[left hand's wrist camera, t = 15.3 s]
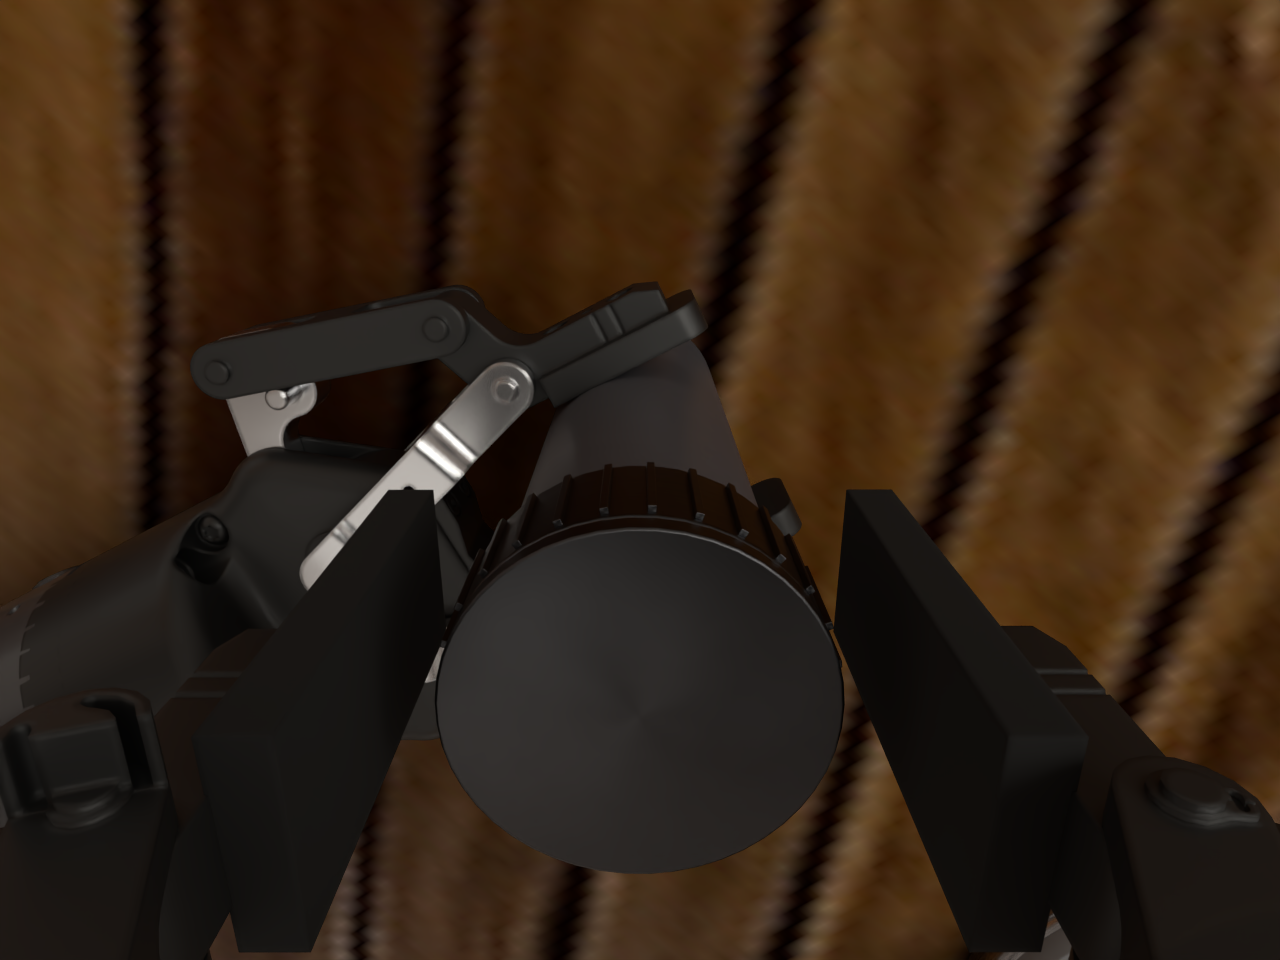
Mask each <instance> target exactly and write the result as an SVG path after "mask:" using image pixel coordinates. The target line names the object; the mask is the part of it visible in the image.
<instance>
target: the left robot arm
mask: <svg viewBox="0 0 1280 960" xmlns="http://www.w3.org/2000/svg"><path fill="white" fill-rule="evenodd" d="M445 631H446V621H445V611H444V600H443V589H442V578H441V567H440V556H439V545H438V534H437V523H436V512H435V501H434V490H388V491H387V492H386V493H385V495H384V496H383V497H382V498H381V500H380V501H379V502H378V503H377V505H376V506H375V507H374V508H373V510H372V511H371V512H370V513H369V515H368V516H367V517H366V518H365V520H364V521H363V522H362V523H361V525H360V526H359V527H358V528H357V530H356V531H355V532H354V533H353V535H352V536H351V537H350V538H349V540H348V541H347V542H346V543H345V545H344V546H343V547H342V548H341V550H340V551H339V552H338V554H337V555H336V556H335V557H334V559H333V560H332V561H331V562H330V564H329V565H328V566H327V567H326V569H325V570H324V571H323V572H322V574H321V575H320V576H319V577H318V579H317V580H316V581H315V582H314V584H313V585H312V586H311V587H310V589H309V590H308V591H307V592H306V594H305V595H304V596H303V597H302V599H301V600H300V601H299V602H298V604H297V605H296V606H295V607H294V609H293V610H292V611H291V612H290V614H289V615H288V616H287V617H286V619H285V620H284V621H283V622H282V624H281V625H280V626H279V627H278V629H247V630H245V631H243V632H242V633H240V634H238V635H237V636H235V637H233V638H232V639H230V640H229V641H227V642H225V643H224V644H222V645H220V646H219V647H217V648H215V649H214V650H213V651H212V652H211V654H210V655H209V656H208V657H207V658H206V659H205V660H204V661H203V662H202V664H201V665H200V666H199V667H198V668H197V669H196V670H195V671H194V672H193V678H188V679H187V680H186V681H185V683H184V684H183V685H182V686H181V687H180V688H179V689H178V690H177V691H176V693H175V694H176V695H175V698H170V699H169V700H168V701H167V703H166V704H165V705H164V706H163V707H162V708H161V709H160V710H159V712H158V713H157V714H156V715H155V716H153V711H152V707H151V703H150V700H149V699H148V698H146V697H145V696H144V695H142V694H141V693H139V692H138V691H135V690H129V689H122V688H116V687H113V688H102V689H90V690H84V691H80V692H76V693H72V694H68V695H65V696H61V697H57V698H54V699H52V700H49V701H47V702H45V703H42V704H40V705H38V706H35V707H33V708H31V709H28V710H26V711H24V712H23V713H21V714H19V715H18V716H16V717H15V718H13V719H12V720H10V721H9V722H7V723H6V724H4V725H3V726H1V727H0V796H1V799H2V802H3V805H4V809H5V812H6V815H7V818H8V820H7V822H6V824H5V827H2V828H0V960H212V958H211V954H210V950H209V948H210V947H211V945H212V943H213V941H214V939H215V938H216V936H217V934H218V932H219V930H220V929H221V927H222V925H223V923H224V921H225V920H226V918H227V916H228V914H229V912H230V914H231V919H232V923H233V928H234V932H235V937H236V941H237V946H238V950H239V952H311V950H312V948H313V946H314V943H315V941H316V939H317V936H318V934H319V932H320V929H321V927H322V924H323V922H324V920H325V917H326V915H327V913H328V910H329V908H330V906H331V903H332V901H333V898H334V896H335V894H336V891H337V889H338V887H339V884H340V882H341V880H342V877H343V875H344V872H345V870H346V868H347V865H348V863H349V861H350V858H351V856H352V854H353V851H354V849H355V846H356V844H357V842H358V839H359V837H360V835H361V832H362V830H363V828H364V825H365V823H366V820H367V818H368V816H369V813H370V811H371V809H372V806H373V804H374V802H375V799H376V797H377V795H378V792H379V790H380V787H381V785H382V783H383V780H384V778H385V776H386V773H387V771H388V769H389V766H390V764H391V761H392V759H393V757H394V754H395V752H396V750H397V747H398V745H399V743H400V740H401V738H402V735H403V733H404V731H405V728H406V726H407V724H408V721H409V719H410V717H411V714H412V712H413V709H414V707H415V705H416V702H417V700H418V698H419V695H420V693H421V691H422V688H423V686H424V683H425V681H426V679H427V676H428V674H429V672H430V669H431V667H432V665H433V662H434V660H435V657H436V655H437V653H438V650H439V648H440V644H441V640H442V638H443V635H444V633H445ZM834 634H835V636H836V639H837V641H838V643H839V646H840V648H841V650H842V653H843V655H844V658H845V660H846V662H847V665H848V667H849V669H850V672H851V674H852V676H853V679H854V681H855V684H856V686H857V688H858V691H859V693H860V695H861V698H862V700H863V702H864V705H865V707H866V709H867V712H868V714H869V717H870V719H871V721H872V724H873V726H874V728H875V731H876V733H877V735H878V738H879V740H880V743H881V745H882V747H883V750H884V752H885V754H886V757H887V759H888V761H889V764H890V766H891V769H892V771H893V773H894V776H895V778H896V780H897V783H898V785H899V787H900V790H901V792H902V795H903V797H904V799H905V802H906V804H907V806H908V809H909V811H910V813H911V816H912V818H913V821H914V823H915V825H916V828H917V830H918V832H919V835H920V837H921V839H922V842H923V844H924V847H925V849H926V851H927V854H928V856H929V858H930V861H931V863H932V865H933V868H934V870H935V872H936V875H937V877H938V880H939V882H940V884H941V887H942V889H943V891H944V894H945V896H946V898H947V901H948V903H949V906H950V908H951V910H952V913H953V915H954V917H955V920H956V922H957V924H958V927H959V929H960V932H961V934H962V936H963V939H964V941H965V943H966V946H967V948H968V950H969V952H972V954H971V955H970V957H969V959H968V960H1280V824H1277V823H1274V821H1273V819H1272V817H1271V816H1270V814H1269V813H1268V812H1267V810H1266V809H1265V808H1264V807H1263V805H1262V804H1261V803H1260V801H1259V800H1258V799H1257V798H1256V797H1255V796H1253V795H1252V794H1251V793H1249V792H1248V791H1247V790H1245V789H1244V788H1243V787H1241V786H1240V785H1239V784H1237V783H1236V782H1235V781H1233V780H1231V779H1229V778H1227V777H1225V776H1223V775H1221V774H1219V773H1217V772H1215V771H1213V770H1211V769H1209V768H1207V767H1204V766H1201V765H1198V764H1194V763H1191V762H1187V761H1184V760H1181V759H1177V758H1172V757H1166V756H1165V755H1164V754H1163V753H1162V752H1161V751H1160V750H1159V749H1158V748H1157V746H1156V745H1155V744H1154V743H1153V742H1152V741H1151V740H1150V739H1149V738H1148V737H1147V735H1146V734H1145V733H1144V732H1143V731H1142V730H1141V729H1140V728H1139V727H1138V725H1137V724H1136V723H1135V722H1134V721H1133V720H1132V719H1131V718H1130V717H1129V715H1128V714H1127V713H1126V712H1125V711H1124V710H1123V709H1122V708H1121V707H1120V705H1119V704H1118V703H1117V702H1116V701H1115V700H1114V699H1113V698H1112V697H1111V696H1110V695H1106V694H1105V689H1104V688H1103V687H1102V686H1101V684H1100V683H1099V682H1098V681H1097V680H1096V679H1095V678H1094V677H1093V676H1092V675H1088V673H1087V669H1086V668H1085V667H1084V666H1083V665H1082V663H1081V662H1080V661H1079V660H1078V659H1077V658H1076V657H1075V656H1074V655H1073V653H1072V652H1071V651H1070V650H1069V649H1068V648H1067V647H1066V646H1065V645H1063V644H1061V643H1060V642H1058V641H1056V640H1055V639H1053V638H1052V637H1050V636H1048V635H1047V634H1045V633H1043V632H1042V631H1040V630H1038V629H1037V628H1035V627H1033V626H1000V625H999V624H998V622H997V621H996V620H995V619H994V617H993V616H992V615H991V614H990V612H989V611H988V610H987V609H986V607H985V606H984V605H983V604H982V602H981V601H980V600H979V599H978V597H977V596H976V595H975V594H974V592H973V591H972V590H971V589H970V587H969V586H968V585H967V584H966V582H965V581H964V580H963V579H962V577H961V576H960V575H959V574H958V572H957V571H956V570H955V569H954V567H953V566H952V565H951V564H950V562H949V561H948V560H947V559H946V557H945V556H944V555H943V554H942V552H941V551H940V550H939V549H938V547H937V546H936V545H935V543H934V542H933V541H932V540H931V538H930V537H929V536H928V535H927V533H926V532H925V531H924V530H923V528H922V527H921V526H920V525H919V523H918V522H917V521H916V520H915V518H914V517H913V516H912V515H911V513H910V512H909V511H908V510H907V508H906V507H905V506H904V505H903V503H902V502H901V501H900V500H899V498H898V497H897V496H896V495H895V493H894V492H893V491H892V490H846V501H845V512H844V523H843V534H842V545H841V556H840V567H839V578H838V589H837V599H836V610H835V621H834Z"/></svg>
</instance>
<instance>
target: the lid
mask: <svg viewBox="0 0 1280 960" xmlns="http://www.w3.org/2000/svg"><path fill="white" fill-rule="evenodd" d="M454 609H455V610H454V612H453V614H452V617H451V619H450V621H449V624H448V626H447V628H446V631H445V633H444V635H443V638H442V640H441V644H440V647H441V648H444V650H443V652H442V655H441V659H440V663H439V668H438V672H437V676H436V687H435V712H436V723H437V728H438V732H439V736H440V740H441V744H442V747H443V750H444V752H445V755H446V757H447V760H448V762H449V765H450V767H451V769H452V771H453V772H454V774H455V776H456V777H457V779H458V781H459V783H460V784H461V786H462V788H463V789H464V790H465V791H466V793H467V794H468V795H469V797H470V798H471V799H472V800H473V802H474V803H475V804H476V805H477V806H478V807H479V808H480V809H481V810H482V811H483V812H484V813H485V814H486V815H487V816H488V817H489V818H490V819H491V820H492V821H493V822H494V823H495V824H497V825H498V826H499V827H501V828H502V829H503V830H505V831H506V832H507V833H508V834H510V835H511V836H513V837H514V838H516V839H518V840H519V841H521V842H523V843H524V844H526V845H528V846H529V847H531V848H533V849H535V850H537V851H539V852H542V853H544V854H546V855H548V856H551V857H553V858H555V859H558V860H561V861H564V862H567V863H571V864H574V865H577V866H581V867H586V868H590V869H595V870H600V871H607V872H616V873H628V874H652V873H662V872H673V871H679V870H684V869H689V868H694V867H699V866H702V865H705V864H708V863H712V862H715V861H718V860H721V859H724V858H726V857H728V856H731V855H733V854H735V853H738V852H740V851H742V850H744V849H746V848H748V847H750V846H751V845H753V844H755V843H757V842H758V841H760V840H762V839H764V838H765V837H766V836H768V835H769V834H770V833H772V832H773V831H775V830H776V829H777V828H779V827H780V826H781V825H783V824H784V823H785V822H786V821H787V820H788V819H789V818H790V817H791V816H792V815H793V814H794V813H796V812H797V811H798V810H799V809H800V808H801V807H802V805H803V804H804V803H805V802H806V800H807V799H808V798H809V797H810V796H811V794H812V793H813V792H814V791H815V789H816V787H817V786H818V784H819V783H820V781H821V779H822V778H823V776H824V775H825V773H826V771H827V769H828V767H829V764H830V762H831V760H832V758H833V755H834V753H835V751H836V747H837V744H838V740H839V736H840V733H841V729H842V723H843V714H844V705H845V704H844V682H843V677H842V672H841V668H842V660H841V658H840V656H839V653H838V651H837V648H836V646H835V644H834V641H833V639H832V636H831V634H830V632H829V630H831V629H834V627H833V624H832V621H831V619H830V617H829V614H828V612H827V610H826V607H825V605H824V603H823V600H822V598H821V596H820V593H819V591H818V589H817V586H816V584H815V582H814V580H813V577H812V575H811V573H810V570H809V568H808V566H804V563H803V561H802V559H801V556H800V554H799V551H798V549H797V547H796V544H795V542H794V540H793V538H792V536H791V535H790V534H787V535H785V536H784V535H783V533H782V532H781V531H780V529H779V528H778V527H777V525H776V524H775V523H774V522H773V521H772V520H771V517H770V514H769V512H768V509H767V508H766V507H765V506H763V505H762V506H761V507H760V508H758V507H757V506H756V505H754V504H753V503H752V502H750V501H749V500H748V499H746V498H745V497H744V496H742V495H740V494H739V493H737V491H736V488H735V486H734V485H732V484H731V483H728V484H727V486H725V485H723V484H721V483H718V482H716V481H713V480H711V479H708V478H706V477H703V476H701V475H697V470H696V469H692V468H689V470H688V472H686V471H682V470H678V469H672V468H664V467H657V466H655V462H647V466H623V467H615V468H613V467H612V464H605V465H604V469H602V470H597V471H593V472H589V473H585V474H582V475H579V476H576V477H574V478H572V476H571V474H569V475H566V476H564V477H563V481H562V482H561V483H559V484H557V485H555V486H553V487H551V488H549V489H547V490H546V491H544V492H542V493H540V494H539V495H537V496H536V495H535V493H532V494H530V495H529V496H528V497H527V500H526V503H525V505H523V506H522V507H521V508H520V509H519V510H518V511H517V512H516V513H515V514H514V515H512V516H511V517H510V518H509V519H508V520H507V521H506V520H505V519H504V518H502V519H501V520H500V521H499V522H498V525H497V527H496V530H495V532H494V535H493V537H492V540H491V542H490V544H489V545H488V547H487V549H486V550H485V551H484V550H482V549H479V551H478V553H477V555H476V557H475V560H474V562H473V564H472V567H471V569H470V571H469V574H468V576H467V578H466V581H465V583H464V585H463V588H462V590H461V592H460V595H459V597H458V599H457V602H456V604H455V606H454Z"/></svg>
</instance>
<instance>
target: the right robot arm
mask: <svg viewBox="0 0 1280 960" xmlns="http://www.w3.org/2000/svg"><path fill="white" fill-rule="evenodd" d="M707 328H708V325H707V323H706V320H705V318H704V316H703V314H702V312H701V310H700V308H699V306H698V304H697V301H696V299H695V297H694V295H693V293H692V291H691V290H685V291H683V292H680V293H678V294H676V295H673V296H671V297H669V298H667V299H665V297H664V295H663V292H662V290H661V288H660V286H659V284H658V282H646V283H636V284H632V285H630V286H628V287H626V288H624V289H622V290H620V291H618V292H616V293H615V294H613V295H611V296H609V297H607V298H605V299H603V300H601V301H599V302H597V303H596V304H594V305H591V306H590V307H588V308H586V309H584V310H582V311H580V312H578V313H576V314H574V315H572V316H570V317H568V318H567V319H565V320H563V321H561V322H559V323H557V324H555V325H553V326H551V327H549V328H547V329H545V330H543V331H541V332H539V333H535V334H522V333H517V332H515V331H512V330H511V329H509V328H507V327H506V326H505V325H504V324H502V323H501V322H500V321H499V320H498V319H497V318H496V317H495V316H493V315H492V314H491V313H490V312H489V311H488V310H487V309H486V308H485V305H484V302H483V300H482V298H481V297H480V295H479V294H478V293H477V292H476V291H474V290H473V289H471V288H469V287H467V286H463V285H453V286H448V287H443V288H438V289H433V290H428V291H423V292H418V293H413V294H408V295H403V296H398V297H393V298H388V299H383V300H378V301H373V302H368V303H363V304H358V305H353V306H348V307H343V308H338V309H333V310H328V311H323V312H318V313H314V314H309V315H304V316H299V317H294V318H289V319H284V320H279V321H274V322H269V323H264V324H259V325H255V326H253V327H250V328H247V329H245V330H242V331H239V332H237V333H234V334H231V335H229V336H226V337H224V338H221V339H219V340H217V341H214V342H212V343H209V344H207V345H204V346H202V347H200V348H199V349H198V350H197V351H196V352H195V353H194V355H193V357H192V359H191V364H190V370H191V375H192V378H193V380H194V382H195V383H196V385H197V386H198V387H199V388H200V389H201V390H202V391H203V392H204V393H205V394H207V395H209V396H211V397H213V398H216V399H224V400H225V399H226V400H227V403H228V406H229V408H230V411H231V414H232V416H233V419H234V422H235V424H236V427H237V430H238V432H239V435H240V438H241V440H242V443H243V446H244V448H245V451H246V453H247V456H248V457H246V458H245V459H244V460H243V461H242V462H241V463H240V464H239V465H238V467H237V468H236V469H235V471H234V473H233V475H232V477H231V479H230V481H229V483H228V484H227V486H226V487H225V488H224V490H223V491H221V492H220V493H218V494H216V495H214V496H212V497H210V498H208V499H206V500H204V501H202V502H201V503H199V504H197V505H195V506H193V507H191V508H189V509H187V510H185V511H183V512H181V513H179V514H177V515H176V516H174V517H172V518H170V519H168V520H166V521H164V522H162V523H160V524H158V525H156V526H154V527H152V528H151V529H149V530H147V531H145V532H143V533H141V534H139V535H137V536H135V537H133V538H131V539H129V540H127V541H126V542H124V543H122V544H120V545H118V546H116V547H114V548H112V549H110V550H108V551H106V552H104V553H102V554H100V555H99V556H97V557H95V558H93V559H91V560H89V561H87V562H85V563H83V564H81V565H79V566H75V567H71V568H68V569H65V570H63V571H60V572H58V573H55V574H53V575H51V576H49V577H47V578H45V579H43V580H41V581H40V582H38V583H37V585H36V586H35V587H33V588H32V590H31V591H30V592H28V593H26V594H24V595H22V596H20V597H18V598H16V599H15V600H13V601H11V602H9V603H7V604H5V605H3V606H1V607H0V727H1V726H3V725H4V724H6V723H7V722H9V721H10V720H12V719H13V718H15V717H16V716H18V715H19V714H21V713H23V712H24V711H26V710H28V709H31V708H33V707H35V706H38V705H40V704H42V703H45V702H47V701H49V700H52V699H54V698H57V697H61V696H65V695H68V694H72V693H76V692H80V691H84V690H90V689H102V688H113V687H116V688H122V689H129V690H135V691H138V692H139V693H141V694H142V695H144V696H145V697H146V698H148V699H149V700H150V703H151V707H152V711H153V716H155V715H156V714H157V713H158V712H159V710H160V709H161V708H162V707H163V706H164V705H165V704H166V703H167V701H168V700H169V699H170V698H175V695H176V694H175V693H176V691H177V690H178V689H179V688H180V687H181V686H182V685H183V684H184V683H185V681H186V680H187V679H188V678H193V672H194V671H195V670H196V669H197V668H198V667H199V666H200V665H201V664H202V662H203V661H204V660H205V659H206V658H207V657H208V656H209V655H210V654H211V652H212V651H213V650H214V649H215V648H217V647H219V646H220V645H222V644H224V643H225V642H227V641H229V640H230V639H232V638H233V637H235V636H237V635H238V634H240V633H242V632H243V631H245V630H247V629H278V627H279V626H280V625H281V624H282V622H283V621H284V620H285V619H286V617H287V616H288V615H289V614H290V612H291V611H292V610H293V609H294V607H295V606H296V605H297V604H298V602H299V601H300V600H301V599H302V597H303V596H304V595H305V594H306V592H307V591H308V590H309V589H310V587H311V586H312V585H313V584H314V582H315V581H316V580H317V579H318V577H319V576H320V575H321V574H322V572H323V571H324V570H325V569H326V567H327V566H328V565H329V564H330V562H331V561H332V560H333V559H334V557H335V556H336V555H337V554H338V552H339V551H340V550H341V548H342V547H343V546H344V545H345V543H346V542H347V541H348V540H349V538H350V537H351V536H352V535H353V533H354V532H355V531H356V530H357V528H358V527H359V526H360V525H361V523H362V522H363V521H364V520H365V518H366V517H367V516H368V515H369V513H370V512H371V511H372V510H373V508H374V507H375V506H376V505H377V503H378V502H379V501H380V500H381V498H382V497H383V496H384V495H385V493H386V492H387V491H388V490H434V501H435V512H436V523H437V534H438V545H439V556H440V567H441V578H442V589H443V600H444V611H445V621H446V628H447V626H448V624H449V621H450V619H451V617H452V614H453V612H454V610H455V609H454V606H455V604H456V602H457V599H458V597H459V595H460V592H461V590H462V588H463V585H464V583H465V581H466V578H467V576H468V574H469V571H470V569H471V567H472V564H473V562H474V560H475V557H476V555H477V553H478V551H479V549H482V550H484V551H485V550H486V549H487V547H488V545H489V544H490V542H491V540H492V537H493V535H494V531H493V530H492V529H491V528H490V527H489V526H488V525H486V524H485V522H484V521H483V519H482V516H481V512H480V509H479V506H478V502H477V499H476V496H475V492H474V491H473V489H472V487H471V486H470V484H469V482H468V481H467V479H466V478H465V476H464V474H465V473H466V472H467V471H468V469H469V468H470V467H471V466H472V465H473V463H474V462H475V461H476V460H477V459H478V458H479V457H480V456H481V455H482V454H483V453H484V452H485V451H486V450H487V449H488V448H489V447H490V446H491V445H492V444H493V443H494V442H495V441H496V440H497V439H498V438H499V437H500V436H501V435H502V434H503V433H504V432H505V431H506V430H507V429H508V428H509V427H510V426H511V425H512V424H513V422H514V421H515V420H516V419H517V418H518V417H519V416H520V415H521V414H522V413H523V412H524V411H525V410H526V409H528V408H530V407H532V406H534V405H536V404H538V403H540V402H542V401H544V400H546V399H548V398H549V399H550V401H551V403H552V404H553V406H554V408H556V407H558V406H560V405H562V404H564V403H566V402H568V401H570V400H572V399H574V398H576V397H578V396H580V395H582V394H584V393H585V392H587V391H589V390H590V389H592V388H595V387H597V386H599V385H601V384H603V383H605V382H607V381H609V380H611V379H613V378H615V377H617V376H619V375H621V374H623V373H625V372H627V371H629V370H631V369H633V368H635V367H637V366H639V365H641V364H643V363H645V362H647V361H649V360H651V359H653V358H655V357H657V356H659V355H661V354H663V353H665V352H667V351H669V350H671V349H673V348H675V347H677V346H679V345H681V344H683V343H685V342H687V341H689V340H691V339H693V338H695V337H696V336H698V335H699V334H701V333H702V332H704V331H705V330H706V329H707ZM436 358H438V359H439V360H440V361H441V362H443V363H444V364H445V365H446V366H447V367H448V368H450V369H451V370H452V371H453V372H454V373H456V374H457V375H458V376H459V377H460V378H461V379H463V380H464V381H465V382H466V383H467V385H466V386H465V387H464V388H463V390H462V391H461V392H460V393H459V394H458V395H457V396H456V397H455V398H453V399H452V400H451V401H450V403H449V404H448V405H447V406H446V407H445V408H444V409H443V410H442V411H441V412H440V413H439V414H438V415H437V416H436V417H435V418H434V419H433V420H432V421H431V422H430V423H429V424H428V425H427V427H426V428H425V429H424V430H423V431H422V432H421V433H420V434H419V435H418V436H417V437H416V438H415V439H414V440H413V441H412V442H411V443H410V444H409V445H408V446H407V447H406V449H405V450H398V449H391V448H384V447H378V446H371V445H364V444H357V443H351V442H344V441H337V440H330V439H324V438H317V437H310V436H304V435H299V430H298V424H299V420H300V417H301V416H302V415H305V414H306V413H308V412H309V411H311V410H312V409H313V408H315V407H316V406H318V405H319V404H320V403H322V402H323V401H324V400H325V399H326V398H327V397H328V395H329V393H330V389H331V380H330V379H334V378H339V377H344V376H350V375H355V374H360V373H365V372H370V371H375V370H380V369H385V368H390V367H395V366H401V365H406V364H411V363H416V362H421V361H426V360H431V359H436ZM751 488H752V491H753V494H754V497H755V500H756V502H757V505H758V508H760V507H761V506H762V505H763V506H765V507H766V508H767V509H768V512H769V514H770V517H771V520H772V521H773V522H774V523H775V524H776V525H777V527H778V528H779V529H780V531H781V532H782V533H783V535H784V536H785V535H787V534H790V535H791V536H793V535H795V534H796V533H797V532H798V531H799V530H800V528H801V525H802V524H801V521H800V519H799V517H798V514H797V512H796V510H795V508H794V506H793V504H792V502H791V499H790V497H789V495H788V493H787V491H786V489H785V487H784V485H783V483H782V481H781V479H779V478H770V479H766V480H763V481H761V482H759V483H757V484H754V485H752V486H751ZM443 650H444V648H441V647H440V648H439V650H438V653H437V655H436V657H435V660H434V662H433V665H432V667H431V669H430V672H429V674H428V676H427V679H426V681H425V683H424V686H423V688H422V691H421V693H420V695H419V698H418V700H417V702H416V705H415V707H414V709H413V712H412V714H411V717H410V719H409V721H408V724H407V726H406V728H405V731H404V733H403V735H402V738H401V740H432V739H437V738H440V736H439V732H438V728H437V723H436V712H435V687H436V676H437V672H438V668H439V663H440V659H441V655H442V652H443ZM7 820H8V818H7V815H6V812H5V809H4V805H3V802H2V799H1V796H0V828H2V827H5V824H6V822H7Z"/></svg>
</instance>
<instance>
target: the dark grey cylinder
mask: <svg viewBox="0 0 1280 960" xmlns="http://www.w3.org/2000/svg"><path fill="white" fill-rule="evenodd" d="M647 462H655V466H657V467H664V468H672V469H678V470H682V471H686V472H688V470H689V468H692V469H696V470H697V475H701V476H703V477H706V478H708V479H711V480H713V481H716V482H718V483H721V484H723V485H725V486H727V484H728V483H731V484H732V485H734V486H735V488H736V491H737V493H739V494H740V495H742V496H744V497H745V498H746V499H748V500H749V501H750V502H752V503H753V504H754V505H756V506H757V507H758V505H757V502H756V500H755V497H754V494H753V491H752V488H751V486H750V483H749V480H748V477H747V474H746V472H745V469H744V466H743V463H742V460H741V458H740V455H739V452H738V449H737V446H736V444H735V441H734V438H733V435H732V432H731V430H730V427H729V424H728V421H727V418H726V416H725V413H724V410H723V407H722V404H721V402H720V399H719V396H718V393H717V390H716V388H715V385H714V382H713V379H712V376H711V374H710V371H709V368H708V366H707V363H706V361H705V359H704V357H703V355H702V354H701V352H700V351H699V349H698V348H697V347H696V346H695V344H694V343H693V342H692V341H691V340H689V341H687V342H685V343H683V344H681V345H679V346H677V347H675V348H673V349H671V350H669V351H667V352H665V353H663V354H661V355H659V356H657V357H655V358H653V359H651V360H649V361H647V362H645V363H643V364H641V365H639V366H637V367H635V368H633V369H631V370H629V371H627V372H625V373H623V374H621V375H619V376H617V377H615V378H613V379H611V380H609V381H607V382H605V383H603V384H601V385H599V386H597V387H595V388H592V389H590V390H589V391H587V392H585V393H584V394H582V395H580V396H578V397H576V398H574V399H572V400H570V401H568V402H566V403H564V404H562V405H560V406H558V407H557V408H556V411H555V414H554V416H553V419H552V422H551V425H550V428H549V430H548V433H547V436H546V439H545V442H544V444H543V447H542V450H541V453H540V456H539V459H538V461H537V464H536V467H535V470H534V473H533V475H532V478H531V481H530V484H529V487H528V489H527V492H526V495H525V498H524V501H523V503H522V506H523V505H525V503H526V500H527V497H528V496H529V495H530V494H532V493H535V495H536V496H537V495H539V494H540V493H542V492H544V491H546V490H547V489H549V488H551V487H553V486H555V485H557V484H559V483H561V482H562V481H563V477H564V476H566V475H569V474H571V476H572V478H574V477H576V476H579V475H582V474H585V473H589V472H593V471H597V470H602V469H604V465H605V464H612V467H613V468H615V467H623V466H647ZM522 506H521V507H522Z"/></svg>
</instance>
